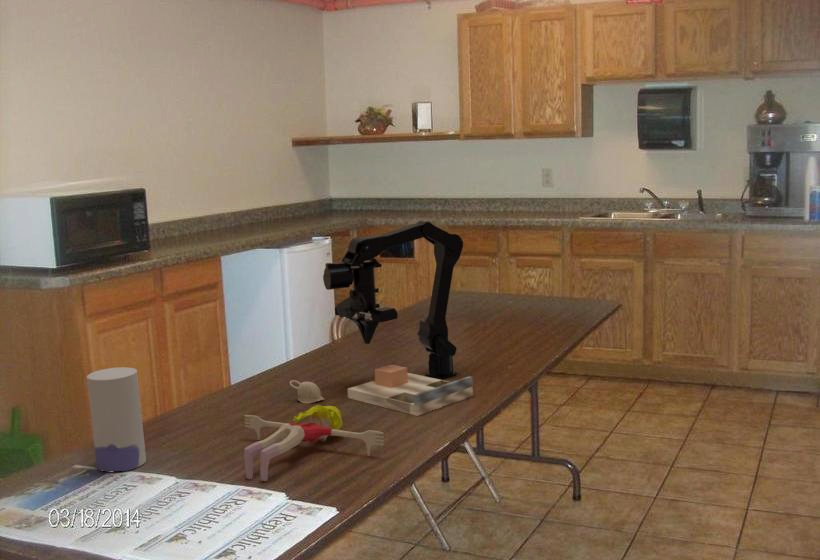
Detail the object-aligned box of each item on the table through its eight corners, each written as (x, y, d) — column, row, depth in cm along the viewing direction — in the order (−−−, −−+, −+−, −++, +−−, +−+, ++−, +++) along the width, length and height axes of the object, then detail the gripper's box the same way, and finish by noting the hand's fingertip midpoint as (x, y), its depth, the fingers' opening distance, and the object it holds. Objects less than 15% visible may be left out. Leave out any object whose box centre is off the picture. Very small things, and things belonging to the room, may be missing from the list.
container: (151, 454, 193) (142, 365, 190) (139, 471, 183) (129, 377, 180) (105, 457, 193) (95, 367, 190) (90, 474, 183) (79, 380, 180)
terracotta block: (391, 379, 235) (391, 364, 234) (408, 382, 231) (407, 367, 230) (375, 384, 231) (374, 369, 230) (391, 388, 226) (390, 372, 226)
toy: (385, 458, 184) (382, 417, 183) (250, 485, 173) (247, 442, 172) (339, 421, 210) (337, 385, 208) (220, 442, 199) (217, 404, 197)
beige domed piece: (317, 404, 224) (315, 384, 223) (288, 402, 228) (287, 381, 227) (325, 400, 228) (323, 380, 227) (297, 397, 231) (295, 377, 230)
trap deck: (403, 380, 242) (402, 362, 241) (472, 396, 225) (472, 376, 224) (348, 398, 228) (346, 379, 228) (417, 415, 211) (416, 395, 210)
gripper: (317, 287, 234) (321, 345, 236) (365, 293, 221) (368, 354, 223) (349, 281, 241) (352, 337, 244) (397, 286, 228) (400, 345, 231)
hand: (367, 343), depth 235 cm, fingers closed
